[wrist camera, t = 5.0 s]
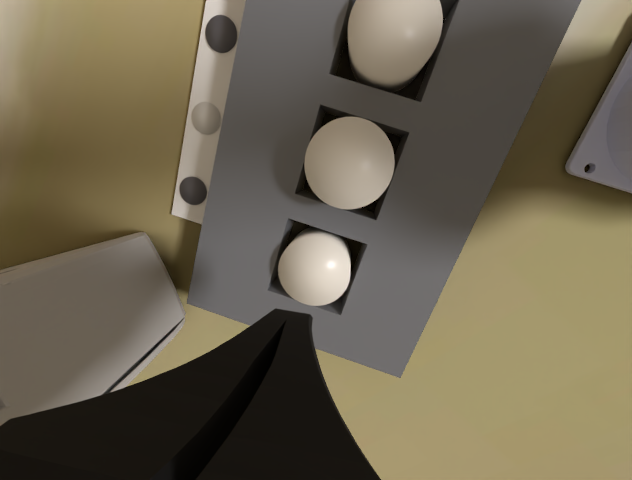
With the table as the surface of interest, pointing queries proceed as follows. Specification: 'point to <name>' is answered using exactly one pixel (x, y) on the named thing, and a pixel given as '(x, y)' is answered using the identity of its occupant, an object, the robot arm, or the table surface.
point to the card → (207, 105)
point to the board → (409, 170)
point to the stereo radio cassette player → (82, 323)
